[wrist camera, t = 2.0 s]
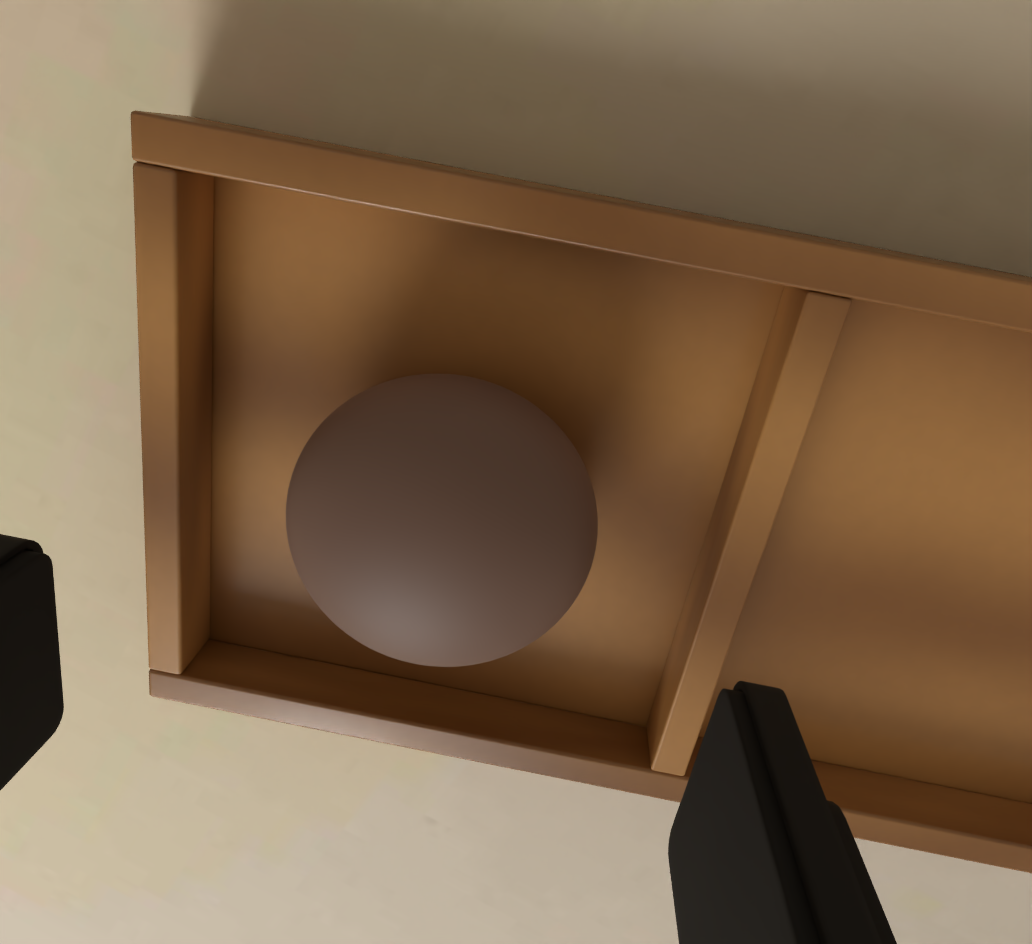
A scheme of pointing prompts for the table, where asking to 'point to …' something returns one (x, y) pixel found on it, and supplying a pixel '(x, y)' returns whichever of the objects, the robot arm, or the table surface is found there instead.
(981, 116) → the table surface
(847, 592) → the wooden compartment tray
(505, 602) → the brown rounded dome
